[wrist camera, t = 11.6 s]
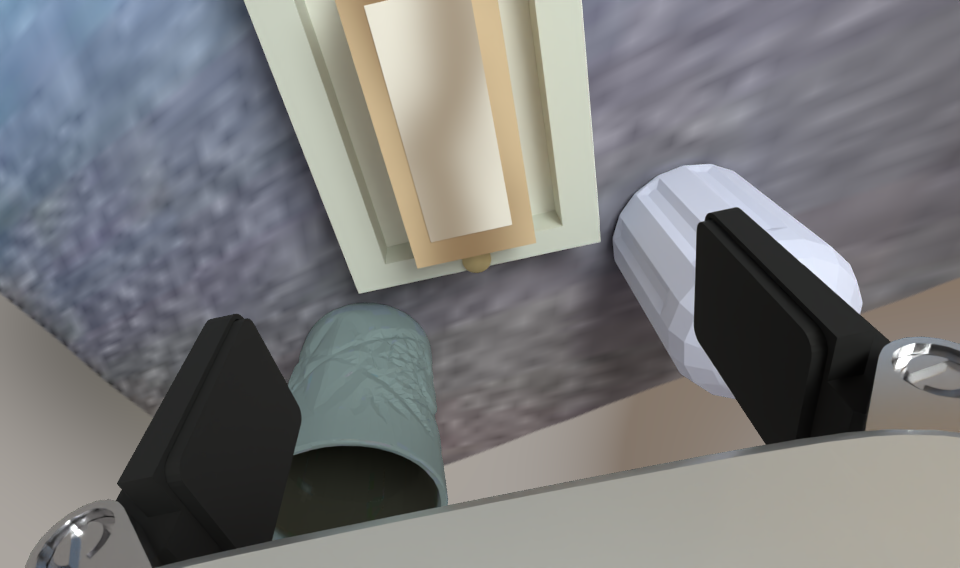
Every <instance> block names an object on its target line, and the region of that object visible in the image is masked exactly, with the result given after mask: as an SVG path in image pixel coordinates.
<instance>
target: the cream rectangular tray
mask: <svg viewBox="0 0 960 568" xmlns="http://www.w3.org/2000/svg"><path fill="white" fill-rule="evenodd" d="M244 2H245V5H246V7H247V10H248V12H249V15H250V17H251V20H252V23H253V25H254V28H255V30H256V33H257V35H258V38H259V40H260V43H261V45H262V48H263V51H264V53H265V56H266V58H267V61H268V63H269V66H270V68H271V71H272V74H273V76H274V79H275V81H276V84H277V86H278V89H279V91H280V94H281V97H282V99H283V102H284V104H285V107H286V109H287V112H288V114H289V117H290V120H291V122H292V125H293V127H294V130H295V132H296V135H297V137H298V140H299V142H300V145H301V148H302V150H303V153H304V155H305V158H306V160H307V163H308V165H309V168H310V171H311V173H312V176H313V178H314V181H315V183H316V186H317V188H318V191H319V194H320V196H321V199H322V201H323V204H324V206H325V209H326V211H327V214H328V216H329V219H330V222H331V224H332V227H333V229H334V232H335V234H336V237H337V239H338V242H339V245H340V247H341V250H342V252H343V255H344V257H345V260H346V262H347V265H348V268H349V270H350V273H351V275H352V278H353V280H354V283H355V285H356V288H357V290H358V293H359V294H360V293H365V292H369V291H374V290H379V289H383V288H388V287H393V286H397V285H402V284H406V283H411V282H416V281H420V280H425V279H430V278H434V277H439V276H444V275H448V274H453V273H458V272H462V271H467V270H468V271H470V272H473V273H479V272H482V271H484V270H486V269H487V268H488V267H489V266H490V265H495V264H500V263H504V262H509V261H514V260H518V259H523V258H528V257H532V256H537V255H542V254H546V253H551V252H555V251H560V250H565V249H569V248H574V247H579V246H583V245H588V244H593V243H597V242H601V240H600V228H599V224H600V222H599V209H598V197H597V185H596V172H595V160H594V148H593V135H592V123H591V110H590V98H589V86H588V73H587V61H586V49H585V36H584V24H583V12H582V0H498V5H499V11H500V17H501V24H502V30H503V36H504V42H505V49H506V55H507V61H508V68H509V74H510V80H511V87H512V93H513V99H514V105H515V112H516V118H517V124H518V131H519V137H520V143H521V150H522V156H523V162H524V168H525V175H526V181H527V187H528V194H529V200H530V206H531V213H532V219H533V225H534V231H535V238H536V243H534V244H529V245H525V246H520V247H515V248H511V249H506V250H502V251H497V252H492V253H488V254H483V255H478V256H474V257H469V258H465V259H460V260H455V261H451V262H446V263H441V264H437V265H432V266H428V267H423V268H417V265H416V262H415V259H414V255H413V252H412V249H411V246H410V242H409V239H408V236H407V233H406V230H405V226H404V223H403V220H402V217H401V213H400V210H399V207H398V204H397V200H396V197H395V194H394V191H393V187H392V184H391V181H390V178H389V174H388V171H387V168H386V165H385V162H384V158H383V155H382V152H381V149H380V145H379V142H378V139H377V136H376V132H375V129H374V126H373V123H372V119H371V116H370V113H369V110H368V106H367V103H366V100H365V97H364V94H363V90H362V87H361V84H360V81H359V77H358V74H357V71H356V68H355V64H354V61H353V58H352V55H351V51H350V48H349V45H348V42H347V38H346V35H345V32H344V29H343V26H342V22H341V19H340V16H339V13H338V9H337V6H336V3H335V0H244Z"/></svg>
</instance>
